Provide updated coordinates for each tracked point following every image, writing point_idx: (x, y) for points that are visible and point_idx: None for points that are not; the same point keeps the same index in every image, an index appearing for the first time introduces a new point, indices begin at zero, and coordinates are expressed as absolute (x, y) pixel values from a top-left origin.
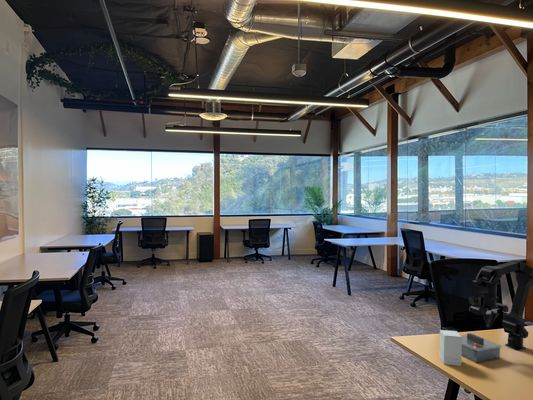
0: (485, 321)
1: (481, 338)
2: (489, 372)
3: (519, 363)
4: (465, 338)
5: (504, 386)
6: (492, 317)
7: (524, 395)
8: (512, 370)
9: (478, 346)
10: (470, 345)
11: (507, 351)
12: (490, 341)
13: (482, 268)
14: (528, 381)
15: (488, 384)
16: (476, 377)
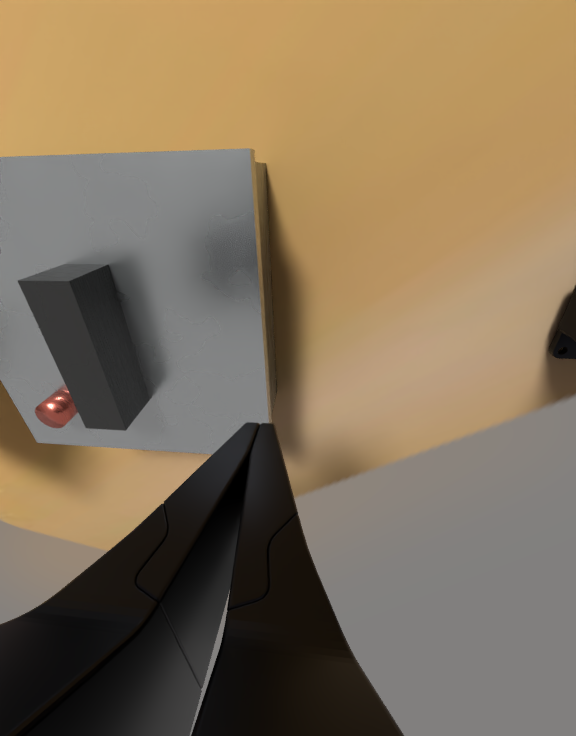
0: (189, 485)
1: (108, 420)
2: (103, 454)
3: (332, 453)
4: (49, 252)
5: (91, 517)
6: (184, 715)
7: None
8: None
9: (75, 415)
10: (19, 384)
11: (457, 336)
12: (257, 385)
13: None
14: None
15: (40, 496)
16: (19, 459)
